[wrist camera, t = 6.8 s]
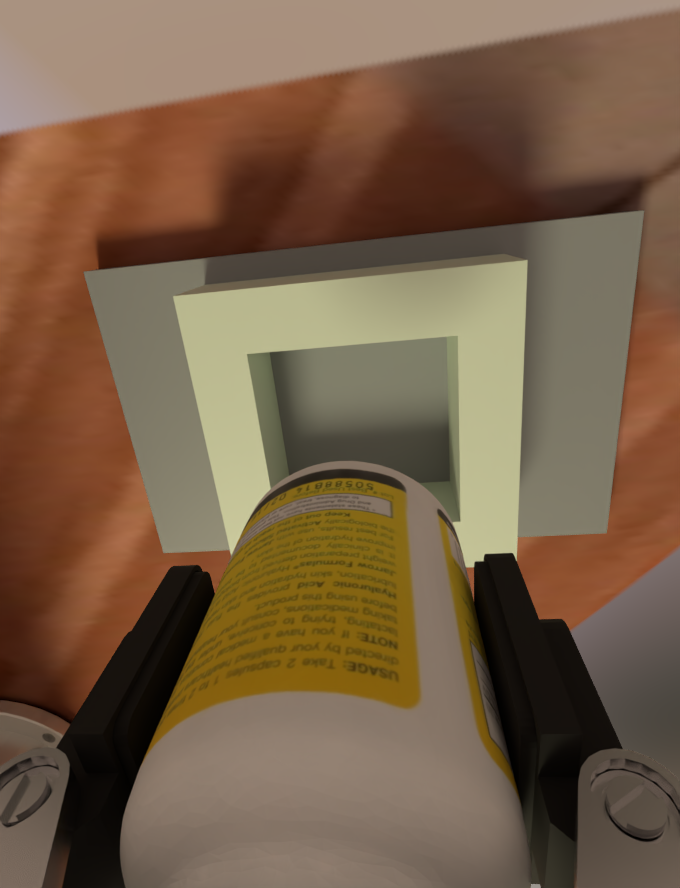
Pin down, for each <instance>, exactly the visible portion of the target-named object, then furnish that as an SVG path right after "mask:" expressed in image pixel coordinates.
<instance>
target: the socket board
mask: <svg viewBox="0 0 680 888" xmlns="http://www.w3.org/2000/svg"><path fill="white" fill-rule="evenodd" d="M643 217H644V210H643V211H625V212H616V213H607V214H598V215H589V216H580V217H571V218H562V219H553V220H543V221H534V222H525V223H516V224H507V225H498V226H489V227H480V228H471V229H461V230H452V231H443V232H434V233H425V234H416V235H407V236H398V237H389V238H379V239H370V240H361V241H352V242H343V243H334V244H325V245H316V246H307V247H297V248H288V249H279V250H270V251H261V252H252V253H243V254H234V255H225V256H215V257H206V258H197V259H188V260H179V261H170V262H161V263H152V264H142V265H133V266H124V267H115V268H106V269H97V270H91V271H86V272H84V276H85V279H86V283H87V286H88V290H89V293H90V297H91V300H92V304H93V307H94V311H95V314H96V318H97V321H98V325H99V328H100V332H101V335H102V339H103V342H104V346H105V349H106V353H107V356H108V360H109V363H110V367H111V370H112V374H113V377H114V381H115V384H116V388H117V391H118V395H119V398H120V402H121V405H122V409H123V412H124V416H125V419H126V423H127V426H128V430H129V433H130V437H131V440H132V444H133V447H134V451H135V454H136V458H137V461H138V465H139V468H140V472H141V475H142V479H143V482H144V486H145V489H146V493H147V496H148V500H149V503H150V507H151V510H152V514H153V517H154V521H155V524H156V528H157V531H158V535H159V538H160V542H161V545H162V549H163V552H164V553H175V552H197V551H220V550H230V553H231V556H232V553H233V551H234V549H235V546H236V544H237V542H238V540H239V538H240V536H241V534H242V531H243V529H244V527H245V525H246V523H247V521H248V520H249V518H250V516H251V514H252V512H253V511H254V509H255V507H256V506H257V504H258V503H259V502H260V500H261V499H262V498H263V496H264V495H265V494H266V493H267V492H268V491H269V490H270V489H271V488H272V487H274V486H275V485H276V484H277V483H279V482H280V481H281V480H283V479H284V478H286V477H288V476H290V475H292V474H293V473H295V472H298V471H300V470H302V469H305V468H307V467H310V466H313V465H317V464H322V463H327V462H334V461H359V462H366V463H372V464H377V465H381V466H384V467H388V468H391V469H393V470H396V471H398V472H400V473H402V474H404V475H406V476H408V477H410V478H412V479H413V480H415V481H416V482H418V483H419V484H421V485H422V486H423V487H425V488H426V489H427V490H428V491H429V492H431V494H432V495H433V496H434V497H435V498H436V499H437V500H438V501H439V502H440V504H441V505H442V506H443V507H444V509H445V510H446V512H447V514H448V515H449V517H450V519H451V521H452V523H453V525H454V527H455V530H456V533H457V536H458V539H459V543H460V546H461V550H462V553H463V558H464V562H465V566H466V567H474V563H475V561H484V555H485V554H495V553H513V554H514V556H515V559H516V561H517V537H532V536H555V535H577V534H599V533H607V526H608V518H609V509H610V500H611V492H612V483H613V475H614V466H615V457H616V449H617V440H618V432H619V423H620V414H621V406H622V397H623V389H624V380H625V371H626V363H627V354H628V346H629V337H630V328H631V320H632V311H633V303H634V294H635V286H636V277H637V268H638V260H639V251H640V243H641V234H642V225H643Z"/></svg>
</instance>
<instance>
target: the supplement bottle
mask: <svg viewBox="0 0 680 888" xmlns="http://www.w3.org/2000/svg"><path fill="white" fill-rule="evenodd" d="M120 861H121V869H122V874H123V879H124V884H125V887H126V888H530V887H531V879H532V878H531V858H530V849H529V843H528V838H527V833H526V829H525V824H524V817H523V810H522V806H521V802H520V798H519V794H518V790H517V786H516V782H515V778H514V774H513V770H512V765H511V761H510V757H509V753H508V749H507V744H506V740H505V735H504V731H503V727H502V722H501V718H500V713H499V709H498V704H497V700H496V696H495V691H494V687H493V683H492V679H491V675H490V670H489V666H488V661H487V657H486V652H485V648H484V643H483V640H482V636H481V632H480V627H479V623H478V618H477V614H476V609H475V605H474V601H473V597H472V592H471V587H470V583H469V578H468V575H467V571H466V566H465V562H464V558H463V553H462V550H461V546H460V543H459V539H458V536H457V533H456V530H455V527H454V525H453V523H452V521H451V519H450V517H449V515H448V514H447V512H446V510H445V509H444V507H443V506H442V505H441V504H440V502H439V501H438V500H437V499H436V498H435V497H434V496H433V495H432V494H431V492H429V491H428V490H427V489H426V488H425V487H423V486H422V485H421V484H419V483H418V482H416V481H415V480H413V479H412V478H410V477H408V476H406V475H404V474H402V473H400V472H398V471H396V470H393V469H391V468H388V467H384V466H381V465H377V464H372V463H366V462H359V461H334V462H327V463H322V464H317V465H313V466H310V467H307V468H305V469H302V470H300V471H298V472H295V473H293V474H292V475H290V476H288V477H286V478H284V479H283V480H281V481H280V482H279V483H277V484H276V485H275V486H274V487H272V488H271V489H270V490H269V491H268V492H267V493H266V494H265V495H264V496H263V498H262V499H261V500H260V502H259V503H258V504H257V506H256V507H255V509H254V511H253V512H252V514H251V516H250V518H249V520H248V521H247V523H246V525H245V527H244V529H243V531H242V534H241V536H240V538H239V540H238V542H237V544H236V546H235V549H234V551H233V553H232V556H231V558H230V561H229V563H228V566H227V568H226V570H225V572H224V574H223V576H222V579H221V581H220V583H219V586H218V588H217V591H216V593H215V596H214V598H213V600H212V602H211V605H210V607H209V609H208V612H207V614H206V616H205V618H204V620H203V623H202V625H201V628H200V630H199V633H198V635H197V637H196V639H195V642H194V644H193V646H192V649H191V651H190V653H189V656H188V658H187V660H186V663H185V665H184V667H183V670H182V672H181V674H180V677H179V679H178V681H177V683H176V686H175V688H174V690H173V693H172V695H171V697H170V699H169V702H168V704H167V706H166V709H165V711H164V713H163V715H162V718H161V720H160V722H159V725H158V727H157V729H156V731H155V734H154V736H153V738H152V741H151V743H150V746H149V748H148V750H147V753H146V755H145V757H144V760H143V762H142V764H141V767H140V769H139V772H138V774H137V777H136V780H135V783H134V785H133V788H132V791H131V794H130V797H129V799H128V802H127V806H126V809H125V812H124V816H123V821H122V828H121V837H120Z"/></svg>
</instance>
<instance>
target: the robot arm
mask: <svg viewBox="0 0 680 888" xmlns="http://www.w3.org/2000/svg"><path fill="white" fill-rule="evenodd" d="M214 596H215V593H214V589H213V585H212V581H211V577H210V574H209V573H208V572H203V571H202V569H201V567H200V566H198V565H190V566H173V567H171V568H170V569H169V570H168V572H167V574H166V575H165V577H164V579H163V580H162V582H161V584H160V585H159V587H158V588H157V590H156V592H155V593H154V595H153V597H152V598H151V600H150V602H149V603H148V605H147V607H146V608H145V610H144V611H143V613H142V615H141V616H140V618H139V620H138V621H137V623H136V625H135V626H134V628H133V629H132V631H130V632H129V633H128V634H127V635H126V636H125V637H124V639H123V640H122V642H121V643H120V645H119V647H118V648H117V650H116V652H115V653H114V655H113V656H112V658H111V660H110V661H109V663H108V664H107V666H106V668H105V669H104V671H103V673H102V674H101V676H100V677H99V679H98V681H97V682H96V684H95V686H94V687H93V689H92V690H91V692H90V694H89V695H88V697H87V698H86V700H85V702H84V703H83V705H82V707H81V708H80V710H79V711H78V713H77V715H76V716H75V718H74V719H73V721H72V723H71V724H70V723H68V722H66V721H65V720H63V719H61V718H60V717H58V716H56V715H54V714H51V713H49V712H47V711H45V710H42V709H39V708H36V707H33V706H30V705H27V704H23V703H17V702H12V701H4V700H0V888H126V887H125V884H124V879H123V874H122V869H121V861H120V837H121V828H122V821H123V816H124V812H125V809H126V806H127V802H128V799H129V797H130V794H131V791H132V788H133V785H134V783H135V780H136V777H137V774H138V772H139V769H140V767H141V764H142V762H143V760H144V757H145V755H146V753H147V750H148V748H149V746H150V743H151V741H152V738H153V736H154V734H155V731H156V729H157V727H158V725H159V722H160V720H161V718H162V715H163V713H164V711H165V709H166V706H167V704H168V702H169V699H170V697H171V695H172V693H173V690H174V688H175V686H176V683H177V681H178V679H179V677H180V674H181V672H182V670H183V667H184V665H185V663H186V660H187V658H188V656H189V653H190V651H191V649H192V646H193V644H194V642H195V639H196V637H197V635H198V633H199V630H200V628H201V625H202V623H203V620H204V618H205V616H206V614H207V612H208V609H209V607H210V605H211V602H212V600H213V598H214ZM474 605H475V609H476V614H477V618H478V623H479V627H480V632H481V636H482V640H483V643H484V648H485V652H486V657H487V661H488V666H489V670H490V675H491V679H492V683H493V687H494V691H495V696H496V700H497V704H498V709H499V713H500V718H501V722H502V727H503V731H504V735H505V740H506V744H507V749H508V753H509V757H510V761H511V765H512V770H513V774H514V778H515V782H516V786H517V790H518V794H519V798H520V802H521V806H522V810H523V817H524V824H525V829H526V833H527V838H528V843H529V849H530V858H531V878H532V879H531V884H540V885H541V888H680V780H679V779H678V778H677V777H676V776H675V775H673V774H672V772H670V771H669V770H668V769H667V768H665V767H664V766H663V765H661V764H659V763H658V762H656V761H655V760H653V759H652V758H650V757H647V756H645V755H642V754H640V753H637V752H634V751H631V750H624V749H622V746H621V744H620V742H619V740H618V737H617V735H616V733H615V731H614V728H613V726H612V724H611V722H610V720H609V717H608V715H607V713H606V711H605V709H604V706H603V704H602V702H601V700H600V697H599V695H598V693H597V691H596V688H595V686H594V684H593V682H592V679H591V678H590V675H589V673H588V671H587V668H586V666H585V664H584V662H583V659H582V657H581V655H580V653H579V651H578V649H577V646H576V644H575V642H574V639H573V637H572V635H571V633H570V630H569V628H568V626H567V625H566V623H565V622H564V621H563V620H562V619H542V620H539V618H538V616H537V613H536V610H535V608H534V605H533V603H532V600H531V597H530V595H529V592H528V590H527V587H526V585H525V582H524V579H523V577H522V574H521V572H520V569H519V566H518V564H517V561H516V559H515V556H514V554H513V553H495V554H485V555H484V561H475V563H474Z"/></svg>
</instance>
